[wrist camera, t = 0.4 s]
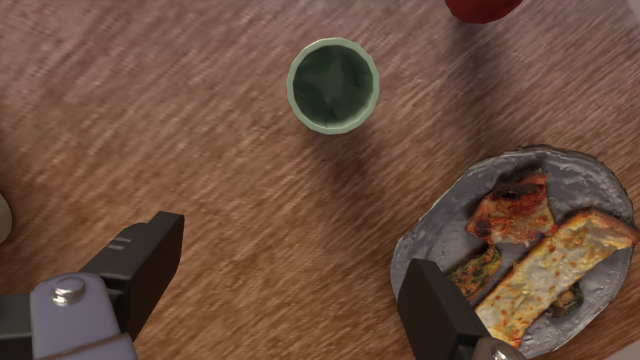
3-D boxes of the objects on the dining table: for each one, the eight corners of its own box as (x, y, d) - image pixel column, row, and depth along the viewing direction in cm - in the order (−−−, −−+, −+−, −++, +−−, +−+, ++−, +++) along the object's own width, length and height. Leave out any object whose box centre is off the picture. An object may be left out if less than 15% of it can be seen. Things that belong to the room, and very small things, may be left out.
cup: (279, 66, 29) (269, 67, 21) (339, 32, 28) (355, 19, 20) (310, 126, 31) (313, 149, 22) (368, 95, 30) (393, 108, 22)
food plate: (526, 93, 31) (553, 96, 27) (661, 234, 36) (698, 251, 33) (347, 279, 36) (351, 300, 33) (488, 376, 42) (504, 403, 39)
